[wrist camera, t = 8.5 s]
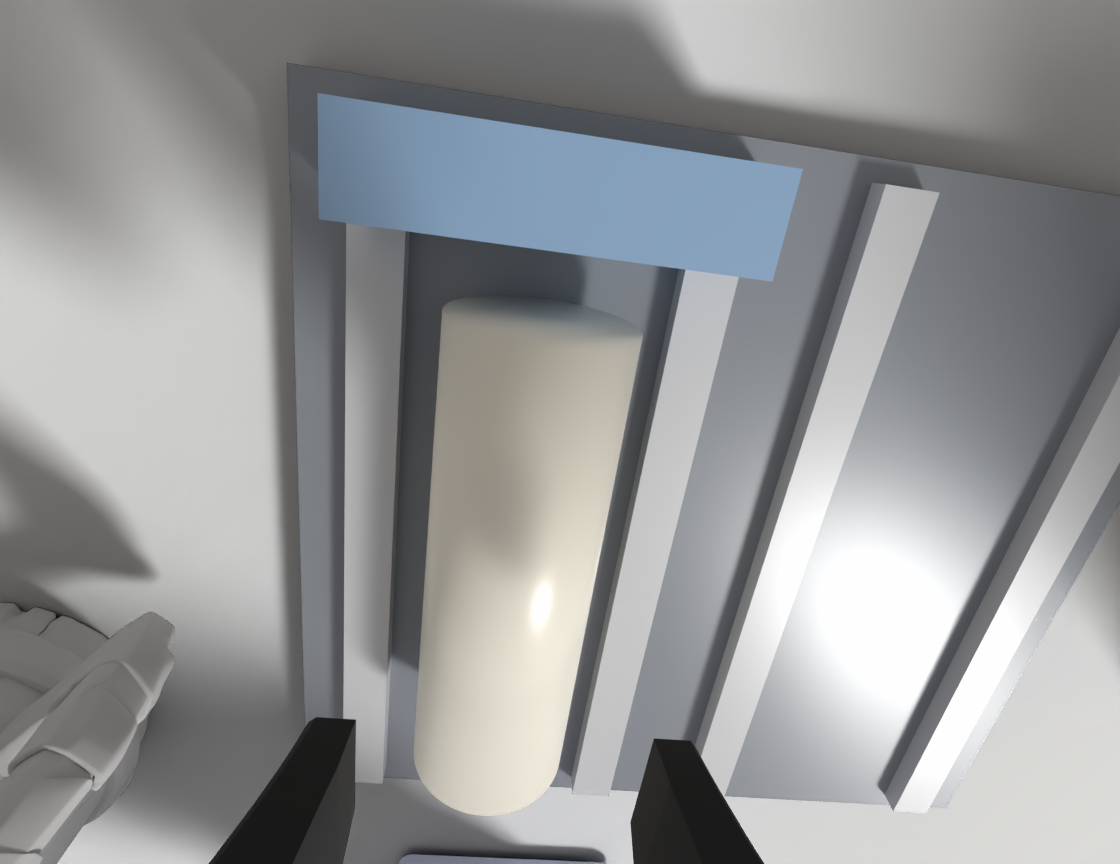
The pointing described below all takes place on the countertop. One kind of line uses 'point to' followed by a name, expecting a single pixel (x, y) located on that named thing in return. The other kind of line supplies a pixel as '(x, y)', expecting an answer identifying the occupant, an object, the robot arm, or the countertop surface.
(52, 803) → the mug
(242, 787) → the countertop surface
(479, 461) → the cream paper roll
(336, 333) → the board
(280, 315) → the countertop surface
